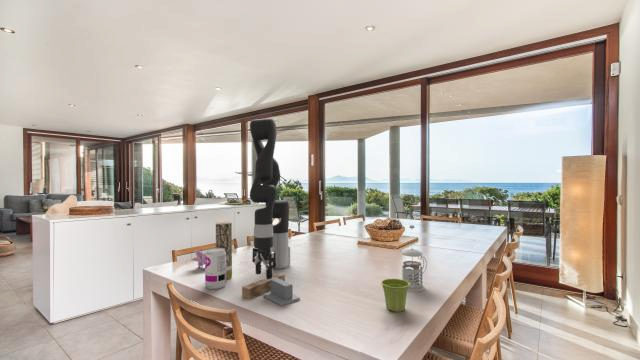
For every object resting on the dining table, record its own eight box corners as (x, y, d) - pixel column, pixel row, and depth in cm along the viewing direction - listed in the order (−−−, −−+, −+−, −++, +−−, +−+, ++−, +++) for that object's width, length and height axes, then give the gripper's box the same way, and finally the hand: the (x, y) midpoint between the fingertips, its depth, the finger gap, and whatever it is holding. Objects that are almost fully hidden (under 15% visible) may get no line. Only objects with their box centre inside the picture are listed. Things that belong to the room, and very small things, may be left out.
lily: (221, 270, 157) (221, 251, 162) (204, 266, 148) (204, 246, 152) (202, 276, 161) (202, 257, 166) (184, 272, 151) (185, 253, 156)
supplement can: (207, 291, 126) (206, 252, 126) (204, 284, 133) (203, 248, 133) (228, 287, 129) (227, 250, 129) (224, 281, 137) (223, 246, 137)
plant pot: (378, 303, 112) (377, 278, 112) (404, 302, 113) (404, 277, 113) (385, 314, 102) (385, 287, 102) (414, 313, 103) (414, 286, 103)
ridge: (281, 291, 125) (281, 276, 124) (299, 300, 115) (299, 283, 115) (263, 296, 119) (263, 280, 119) (281, 305, 110) (281, 288, 110)
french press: (394, 285, 131) (394, 224, 131) (417, 281, 135) (416, 222, 135) (410, 293, 122) (410, 227, 122) (434, 288, 126) (433, 225, 126)
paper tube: (227, 281, 138) (227, 223, 138) (213, 280, 139) (212, 222, 139) (234, 276, 144) (234, 221, 144) (221, 275, 146) (220, 220, 146)
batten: (277, 282, 136) (277, 273, 136) (284, 284, 134) (284, 274, 134) (242, 297, 119) (242, 286, 119) (249, 299, 117) (249, 288, 117)
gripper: (281, 236, 123) (281, 278, 123) (263, 232, 134) (263, 271, 134) (264, 238, 118) (264, 282, 118) (246, 234, 129) (246, 274, 129)
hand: (263, 276), depth 126 cm, fingers open, 8 cm apart
